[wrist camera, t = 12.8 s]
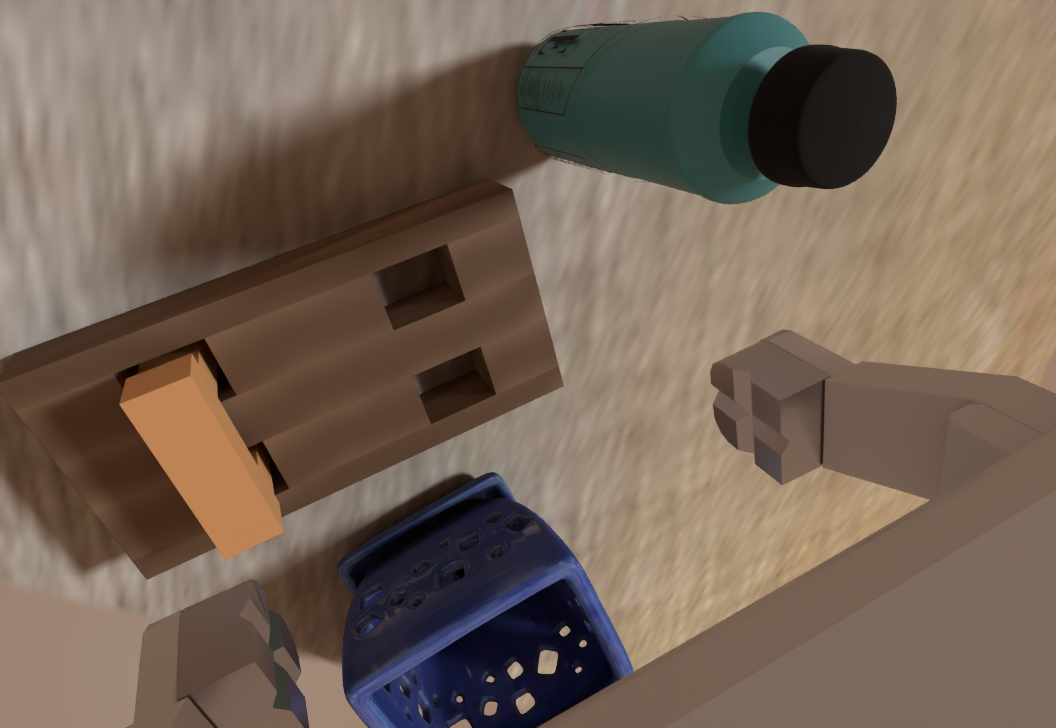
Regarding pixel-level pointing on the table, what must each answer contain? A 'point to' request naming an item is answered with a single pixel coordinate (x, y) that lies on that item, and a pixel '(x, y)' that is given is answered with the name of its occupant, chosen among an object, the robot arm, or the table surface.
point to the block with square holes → (302, 366)
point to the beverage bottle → (709, 105)
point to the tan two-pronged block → (203, 448)
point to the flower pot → (471, 617)
